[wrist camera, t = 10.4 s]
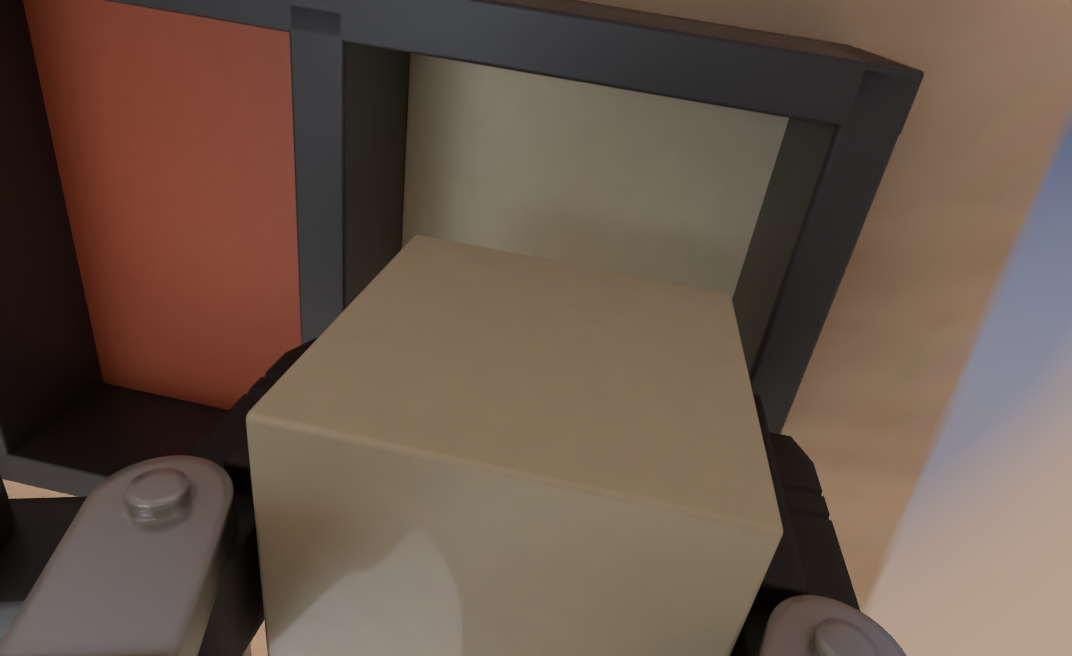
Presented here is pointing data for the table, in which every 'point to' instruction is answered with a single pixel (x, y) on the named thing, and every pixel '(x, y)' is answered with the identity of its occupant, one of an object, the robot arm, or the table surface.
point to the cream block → (513, 467)
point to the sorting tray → (390, 186)
